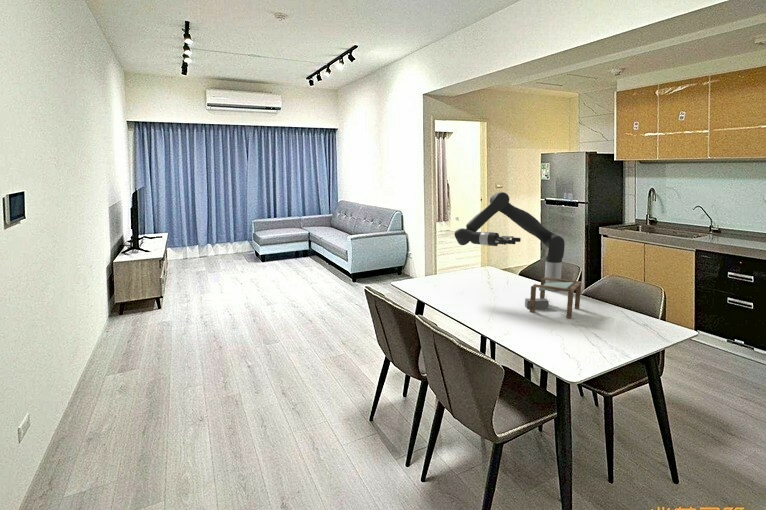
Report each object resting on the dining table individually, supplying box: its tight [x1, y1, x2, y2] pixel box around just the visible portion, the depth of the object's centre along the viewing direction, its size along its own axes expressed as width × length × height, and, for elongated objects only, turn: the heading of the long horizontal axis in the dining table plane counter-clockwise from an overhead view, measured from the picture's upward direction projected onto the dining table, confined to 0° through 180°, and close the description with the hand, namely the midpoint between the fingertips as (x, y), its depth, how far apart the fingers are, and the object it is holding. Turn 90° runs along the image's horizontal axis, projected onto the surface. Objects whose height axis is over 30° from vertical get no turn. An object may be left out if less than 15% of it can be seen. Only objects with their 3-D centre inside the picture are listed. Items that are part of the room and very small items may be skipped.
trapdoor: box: [538, 282, 575, 291], centre depth 237 cm, size 14×15×1 cm
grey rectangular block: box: [524, 297, 550, 310], centre depth 244 cm, size 4×4×11 cm
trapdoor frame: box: [529, 276, 582, 320], centre depth 238 cm, size 20×20×14 cm
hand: (517, 241), depth 250 cm, fingers open, 8 cm apart
